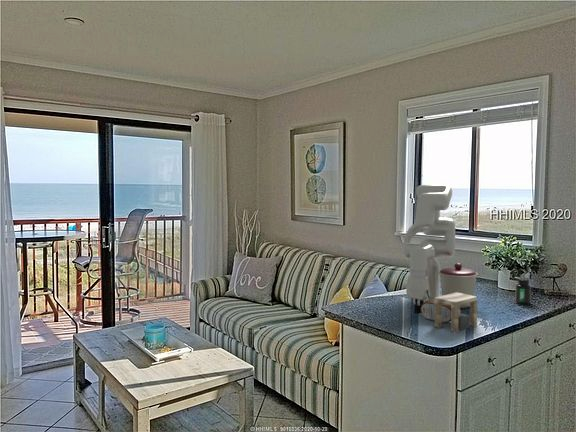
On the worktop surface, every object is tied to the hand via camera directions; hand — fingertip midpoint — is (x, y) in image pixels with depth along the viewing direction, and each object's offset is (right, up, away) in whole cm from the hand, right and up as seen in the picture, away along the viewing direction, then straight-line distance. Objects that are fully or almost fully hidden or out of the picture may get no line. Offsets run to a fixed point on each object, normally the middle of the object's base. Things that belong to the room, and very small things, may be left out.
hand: (418, 313), depth 206 cm
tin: (+6, -2, -8) cm, 10 cm away
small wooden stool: (+11, -2, -16) cm, 20 cm away
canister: (+24, 0, +16) cm, 29 cm away
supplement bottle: (+58, +1, +19) cm, 61 cm away
